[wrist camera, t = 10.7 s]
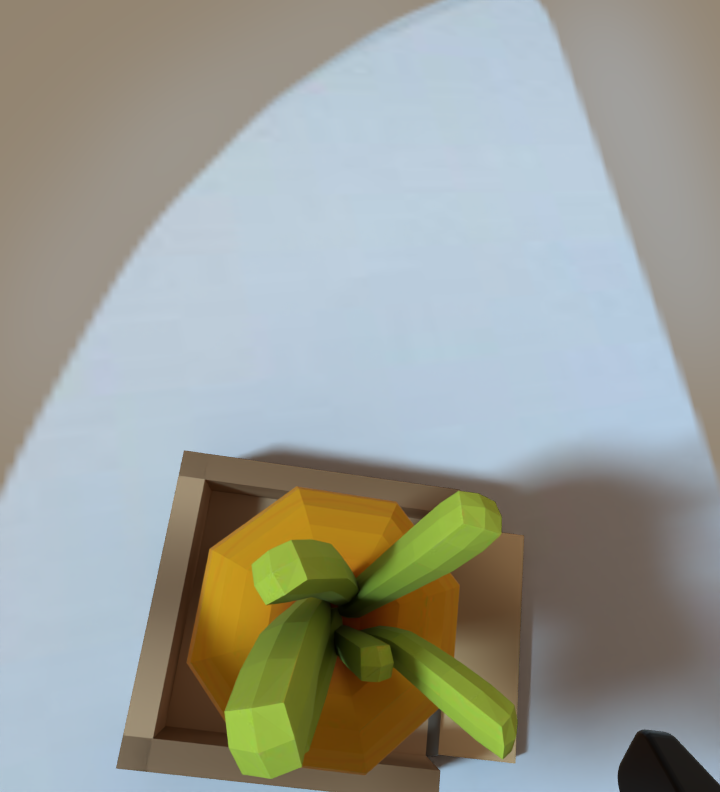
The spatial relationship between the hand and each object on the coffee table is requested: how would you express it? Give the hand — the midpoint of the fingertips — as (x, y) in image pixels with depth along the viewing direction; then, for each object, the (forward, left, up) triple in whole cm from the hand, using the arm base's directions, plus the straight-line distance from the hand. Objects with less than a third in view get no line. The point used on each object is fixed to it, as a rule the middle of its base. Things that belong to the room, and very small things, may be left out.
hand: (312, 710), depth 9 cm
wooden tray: (+1, -1, -14) cm, 14 cm away
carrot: (+1, 0, -13) cm, 13 cm away
